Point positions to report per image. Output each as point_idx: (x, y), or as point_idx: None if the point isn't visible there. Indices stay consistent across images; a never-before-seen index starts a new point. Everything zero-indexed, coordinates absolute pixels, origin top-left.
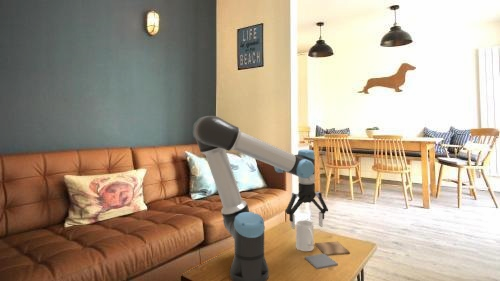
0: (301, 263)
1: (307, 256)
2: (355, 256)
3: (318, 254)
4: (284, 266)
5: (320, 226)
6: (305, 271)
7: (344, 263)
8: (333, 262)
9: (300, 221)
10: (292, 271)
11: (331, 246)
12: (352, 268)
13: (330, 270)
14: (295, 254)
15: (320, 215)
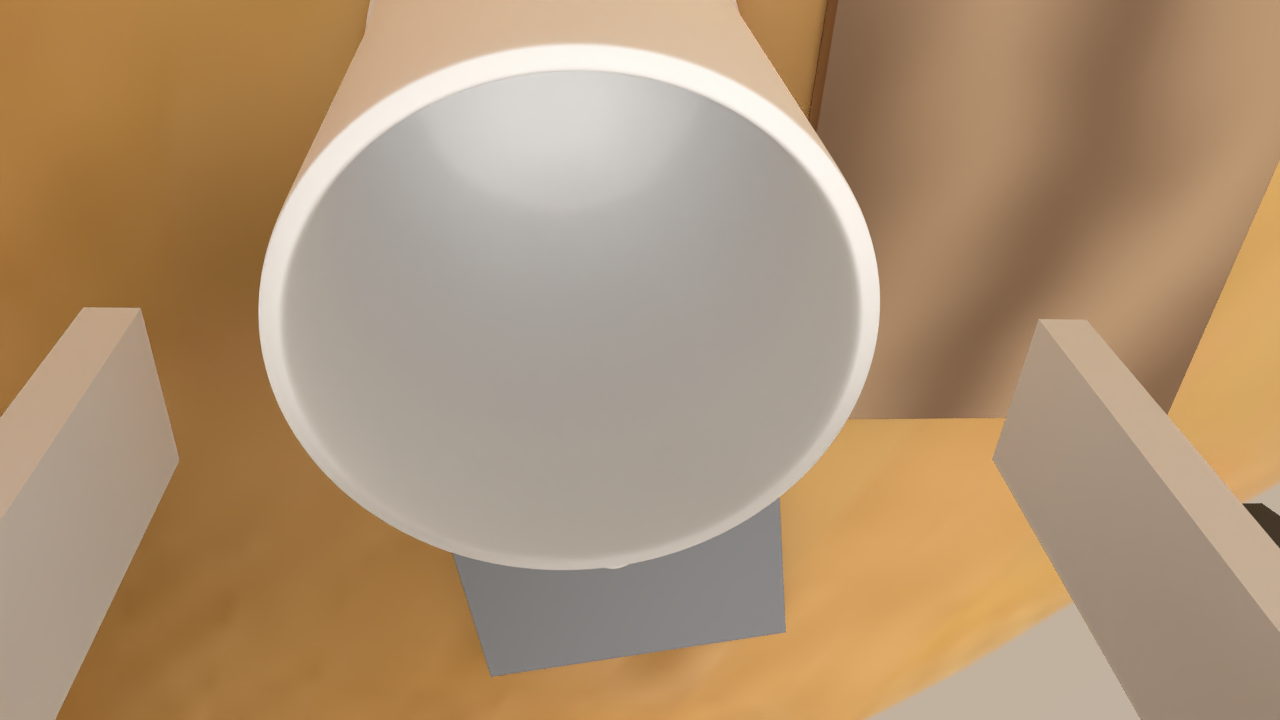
0: (332, 541)
1: None
2: None
3: None
4: None
5: (1004, 424)
6: (337, 682)
7: (887, 590)
8: (750, 609)
9: (493, 78)
10: (174, 672)
11: (1050, 197)
12: (896, 675)
13: (635, 687)
14: None
15: (1170, 718)
